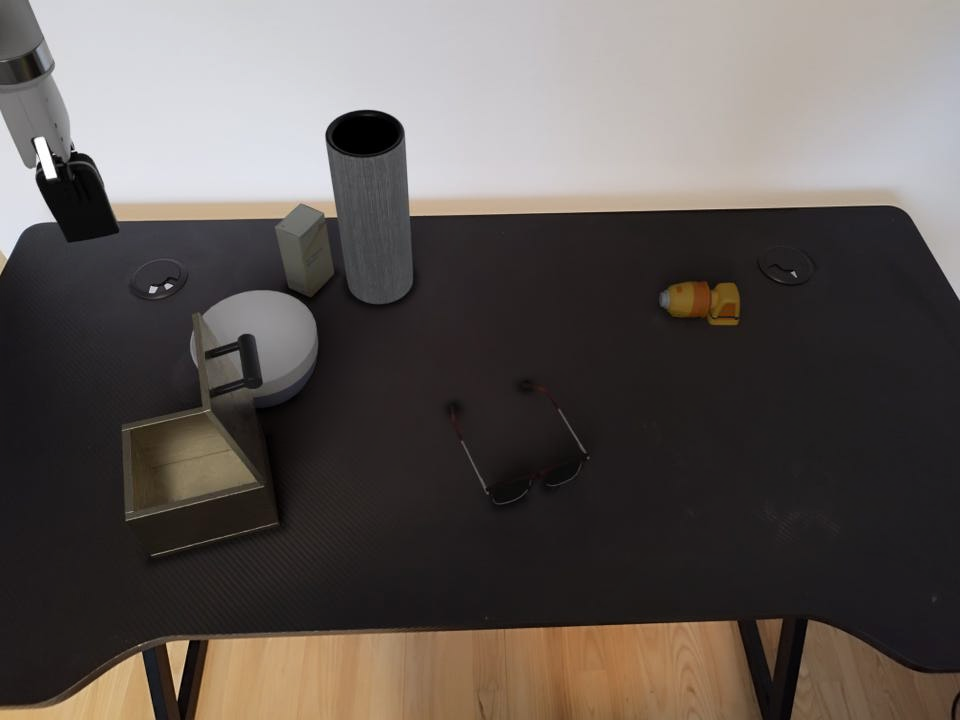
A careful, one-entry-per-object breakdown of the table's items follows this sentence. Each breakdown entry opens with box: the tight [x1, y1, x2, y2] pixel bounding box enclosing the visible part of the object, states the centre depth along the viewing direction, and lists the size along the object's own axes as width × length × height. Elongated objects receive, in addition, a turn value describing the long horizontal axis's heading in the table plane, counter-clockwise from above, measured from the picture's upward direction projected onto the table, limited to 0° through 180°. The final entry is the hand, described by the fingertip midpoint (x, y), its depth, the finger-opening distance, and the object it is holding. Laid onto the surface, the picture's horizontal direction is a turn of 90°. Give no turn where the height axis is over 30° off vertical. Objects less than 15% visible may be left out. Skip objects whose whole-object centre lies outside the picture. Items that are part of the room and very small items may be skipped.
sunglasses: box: [450, 382, 590, 505], centre depth 102 cm, size 14×16×5 cm
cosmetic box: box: [274, 202, 335, 298], centre depth 116 cm, size 6×4×12 cm
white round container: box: [189, 289, 319, 409], centre depth 105 cm, size 16×16×10 cm
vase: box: [324, 109, 414, 305], centre depth 110 cm, size 10×10×27 cm
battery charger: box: [34, 152, 121, 244], centre depth 100 cm, size 7×4×11 cm, turn 109°
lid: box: [191, 312, 267, 485], centre depth 85 cm, size 16×13×5 cm
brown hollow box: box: [121, 406, 281, 559], centre depth 94 cm, size 15×13×10 cm
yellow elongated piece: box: [658, 280, 741, 326], centre depth 117 cm, size 5×6×12 cm
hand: (74, 190), depth 99 cm, fingers closed on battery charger, 4 cm apart
